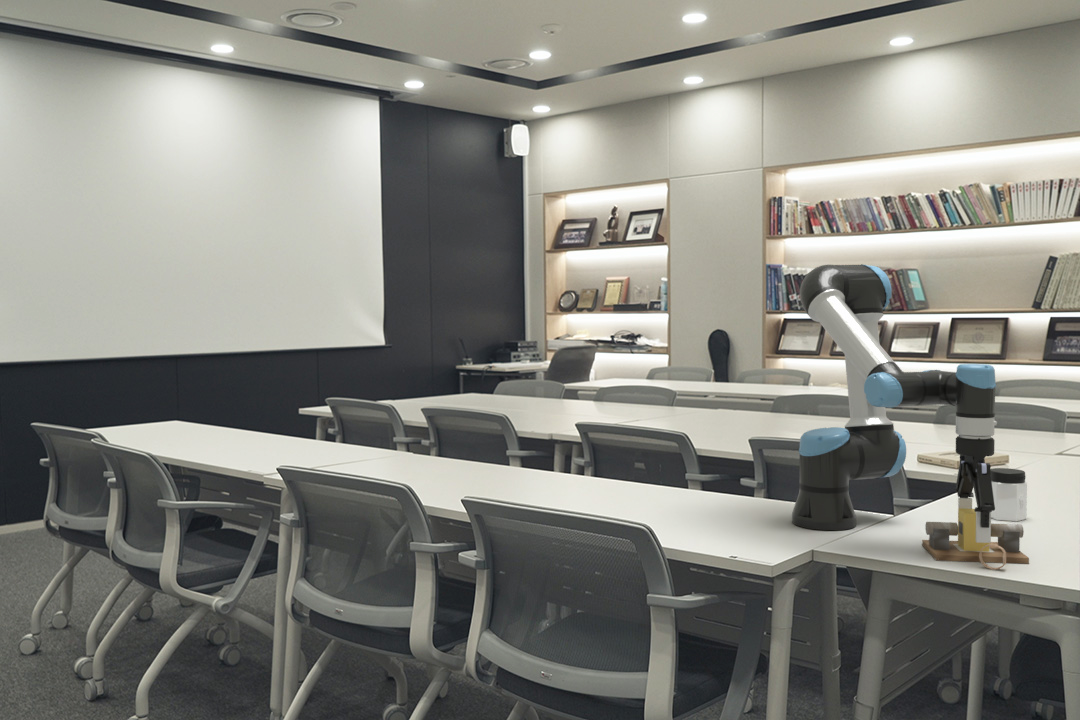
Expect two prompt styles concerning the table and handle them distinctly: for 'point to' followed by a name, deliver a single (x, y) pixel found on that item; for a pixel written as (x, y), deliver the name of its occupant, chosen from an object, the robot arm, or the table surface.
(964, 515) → the yellow rectangular block
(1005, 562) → the rose gold watch bracelet
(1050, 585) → the table surface
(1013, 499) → the jar
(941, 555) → the shaft base
